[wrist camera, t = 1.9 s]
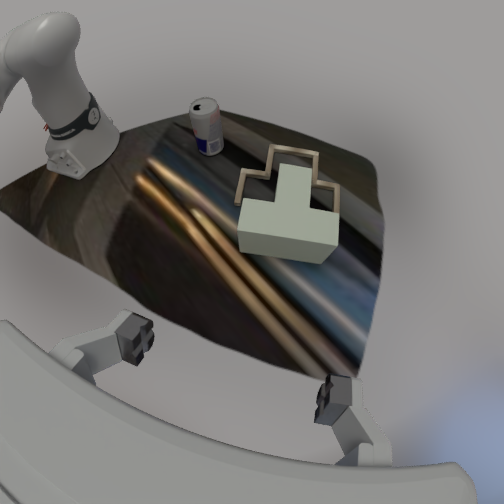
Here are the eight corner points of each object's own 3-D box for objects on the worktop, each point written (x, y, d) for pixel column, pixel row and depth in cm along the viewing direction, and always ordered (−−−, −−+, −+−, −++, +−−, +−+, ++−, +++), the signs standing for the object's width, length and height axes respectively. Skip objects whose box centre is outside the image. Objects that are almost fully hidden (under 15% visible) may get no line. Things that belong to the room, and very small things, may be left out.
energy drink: (199, 138, 54) (190, 98, 43) (224, 136, 54) (219, 95, 43) (197, 157, 53) (186, 117, 41) (223, 156, 53) (217, 114, 41)
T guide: (234, 205, 49) (234, 202, 48) (247, 144, 54) (247, 141, 53) (337, 221, 49) (338, 219, 47) (338, 159, 53) (339, 156, 52)
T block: (240, 251, 47) (237, 230, 37) (251, 190, 50) (251, 159, 41) (320, 264, 46) (337, 245, 37) (325, 202, 50) (339, 174, 40)
